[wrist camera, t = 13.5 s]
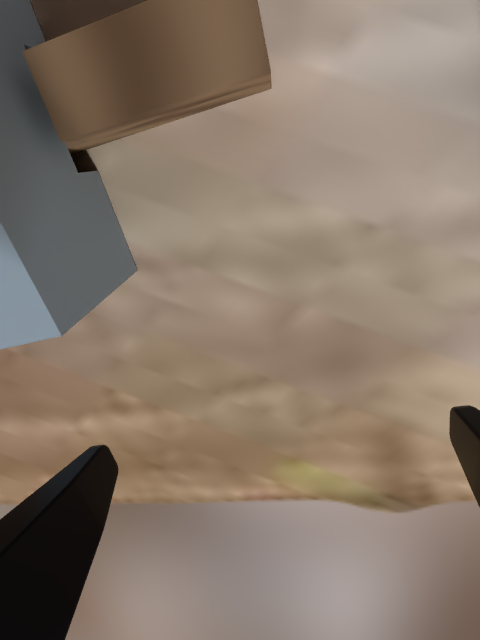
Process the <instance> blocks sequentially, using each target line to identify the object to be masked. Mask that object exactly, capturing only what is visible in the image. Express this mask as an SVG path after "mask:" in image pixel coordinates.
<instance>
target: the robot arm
mask: <svg viewBox="0 0 480 640" xmlns="http://www.w3.org/2000/svg"><path fill="white" fill-rule="evenodd" d="M450 439H451V442H452V445H453V447H454V450H455V452H456V454H457V457H458V459H459V461H460V463H461V466H462V468H463V470H464V473H465V475H466V477H467V480H468V482H469V484H470V487H471V489H472V491H473V494H474V496H475V498H476V500H477V502H478V505H479V506H480V410H478V409H476V408H475V407H473V406H469V405H467V406H458V407H453V408H452V409H451V411H450ZM117 476H118V465H117V463H116V461H115V459H114V457H113V455H112V453H111V451H110V449H109V448H108V447H107V446H106V445H97V446H92V447H90V448H89V449H87V450H86V451H85V452H84V453H82V454H81V455H80V456H79V457H77V458H76V459H75V460H74V461H72V462H71V463H70V464H69V465H67V466H66V467H65V468H64V469H62V470H61V471H60V472H59V473H57V474H56V475H55V476H54V477H53V478H51V479H50V480H49V481H48V482H46V483H45V484H44V485H43V486H41V487H40V488H39V489H38V490H36V491H35V492H34V493H33V494H31V495H30V496H29V497H28V498H26V499H25V500H24V501H23V502H21V503H20V504H19V505H18V506H16V507H15V508H14V509H13V510H11V511H10V512H9V513H8V514H7V515H5V516H4V517H3V518H2V519H1V520H0V640H65V638H66V635H67V633H68V630H69V627H70V624H71V621H72V618H73V615H74V613H75V610H76V607H77V604H78V601H79V598H80V596H81V593H82V590H83V587H84V584H85V581H86V579H87V576H88V573H89V570H90V567H91V564H92V561H93V559H94V556H95V553H96V550H97V547H98V545H99V542H100V539H101V536H102V533H103V530H104V526H105V522H106V519H107V515H108V511H109V507H110V503H111V499H112V495H113V491H114V488H115V484H116V480H117Z"/></svg>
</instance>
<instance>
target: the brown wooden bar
mask: <svg viewBox="0 0 480 640" xmlns="http://www.w3.org/2000/svg"><path fill="white" fill-rule="evenodd" d="M22 52H23V54H24V57H25V59H26V61H27V64H28V66H29V68H30V71H31V73H32V75H33V78H34V80H35V82H36V85H37V87H38V89H39V92H40V94H41V96H42V99H43V101H44V103H45V106H46V108H47V110H48V113H49V115H50V117H51V120H52V122H53V124H54V127H55V129H56V131H57V134H58V136H59V138H60V141H64V142H65V143H66V146H67V148H68V150H69V153H70V155H71V154H74V153H78V152H81V151H84V150H87V149H90V148H93V147H96V146H99V145H102V144H105V143H108V142H111V141H114V140H117V139H120V138H123V137H126V136H129V135H132V134H135V133H138V132H141V131H144V130H147V129H150V128H153V127H156V126H159V125H162V124H165V123H168V122H171V121H174V120H177V119H180V118H184V117H187V116H190V115H193V114H196V113H199V112H202V111H205V110H208V109H211V108H214V107H217V106H220V105H223V104H226V103H229V102H232V101H235V100H238V99H241V98H244V97H247V96H250V95H253V94H256V93H259V92H262V91H265V90H268V89H271V88H272V87H271V70H270V65H269V59H268V54H267V49H266V44H265V38H264V33H263V28H262V23H261V17H260V12H259V7H258V2H257V0H147V1H144V2H142V3H139V4H137V5H134V6H132V7H130V8H127V9H125V10H122V11H120V12H117V13H115V14H112V15H110V16H108V17H105V18H103V19H100V20H98V21H95V22H93V23H90V24H88V25H85V26H83V27H81V28H78V29H76V30H73V31H71V32H68V33H66V34H63V35H61V36H59V37H56V38H54V39H51V40H49V41H46V42H44V43H41V44H39V45H37V46H34V47H32V48H29V49H27V50H24V51H22Z"/></svg>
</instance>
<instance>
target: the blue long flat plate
mask: <svg viewBox="0 0 480 640" xmlns="http://www.w3.org/2000/svg"><path fill="white" fill-rule="evenodd" d="M44 42H46V40H45V38H44V35H43V33H42V30H41V28H40V25H39V23H38V20H37V18H36V15H35V13H34V10H33V8H32V5H31V3H30V0H0V349H3V348H8V347H12V346H17V345H22V344H26V343H31V342H36V341H40V340H45V339H50V338H54V337H59V336H62V335H63V334H65V333H66V332H67V331H68V330H69V329H70V328H71V327H73V326H74V325H75V324H76V323H77V322H78V321H80V320H81V319H82V318H83V317H84V316H85V315H87V314H88V313H89V312H90V311H91V310H92V309H93V308H95V307H96V306H97V305H98V304H99V303H100V302H102V301H103V300H104V299H105V298H106V297H107V296H108V295H110V294H111V293H112V292H113V291H114V290H115V289H117V288H118V287H119V286H120V285H121V284H122V283H123V282H125V281H126V280H127V279H128V278H129V277H130V276H132V275H133V274H134V273H135V272H136V271H137V268H136V265H135V263H134V260H133V258H132V255H131V253H130V250H129V248H128V245H127V243H126V240H125V238H124V235H123V233H122V230H121V228H120V225H119V223H118V220H117V218H116V215H115V213H114V210H113V208H112V205H111V203H110V200H109V198H108V195H107V193H106V190H105V188H104V185H103V183H102V180H101V178H100V175H99V173H98V171H90V172H81V173H78V172H77V169H76V167H75V164H74V162H73V160H72V157H71V155H70V153H69V150H68V148H67V146H66V143H65V142H64V141H60V138H59V136H58V134H57V131H56V129H55V127H54V124H53V122H52V120H51V117H50V115H49V113H48V110H47V108H46V106H45V103H44V101H43V99H42V96H41V94H40V92H39V89H38V87H37V85H36V82H35V80H34V78H33V75H32V73H31V71H30V68H29V66H28V64H27V61H26V59H25V57H24V54H23V52H22V51H24V50H27V49H29V48H32V47H34V46H37V45H39V44H41V43H44Z"/></svg>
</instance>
